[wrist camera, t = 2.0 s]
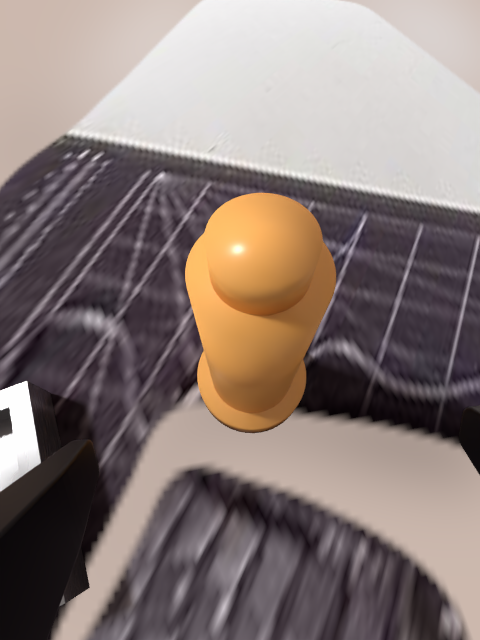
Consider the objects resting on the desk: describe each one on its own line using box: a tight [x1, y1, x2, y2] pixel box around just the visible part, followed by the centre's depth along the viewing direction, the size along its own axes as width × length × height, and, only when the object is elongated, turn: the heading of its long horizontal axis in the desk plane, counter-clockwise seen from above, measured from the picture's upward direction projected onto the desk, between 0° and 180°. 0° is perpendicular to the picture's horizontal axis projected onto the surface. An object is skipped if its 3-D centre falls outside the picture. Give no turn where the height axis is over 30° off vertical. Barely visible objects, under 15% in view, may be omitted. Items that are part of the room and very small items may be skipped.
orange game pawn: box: [185, 193, 336, 433], centre depth 15 cm, size 6×6×13 cm
